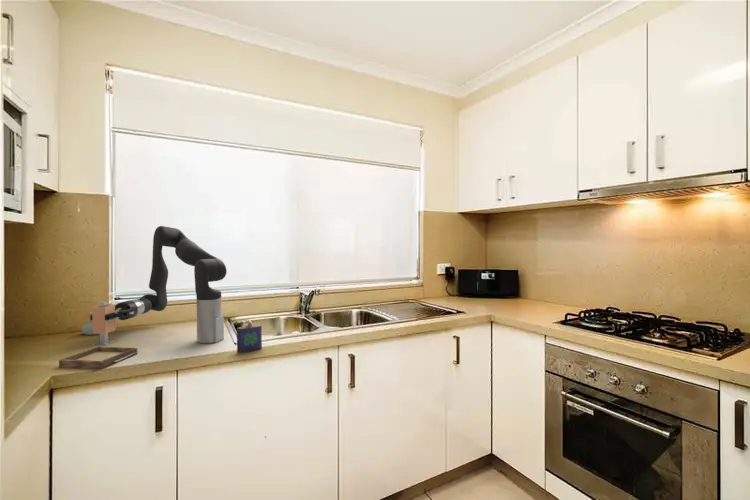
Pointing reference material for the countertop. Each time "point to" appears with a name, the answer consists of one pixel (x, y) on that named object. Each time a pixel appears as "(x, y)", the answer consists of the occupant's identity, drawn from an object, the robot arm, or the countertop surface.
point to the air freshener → (88, 327)
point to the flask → (249, 338)
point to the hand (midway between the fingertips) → (98, 317)
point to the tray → (86, 364)
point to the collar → (102, 319)
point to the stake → (103, 337)
